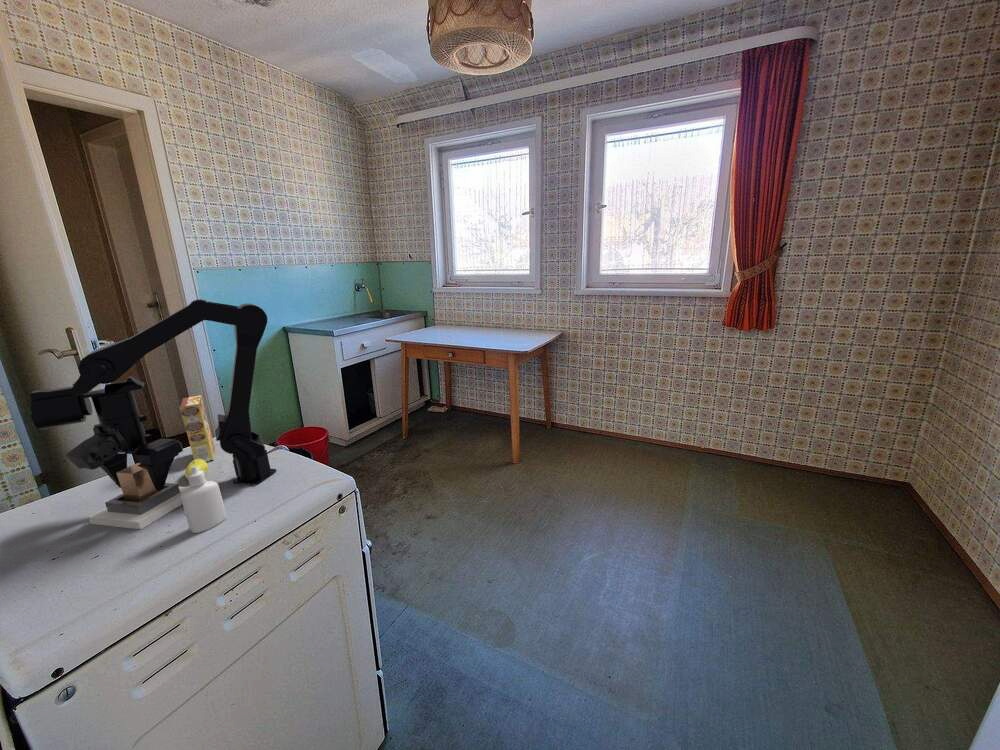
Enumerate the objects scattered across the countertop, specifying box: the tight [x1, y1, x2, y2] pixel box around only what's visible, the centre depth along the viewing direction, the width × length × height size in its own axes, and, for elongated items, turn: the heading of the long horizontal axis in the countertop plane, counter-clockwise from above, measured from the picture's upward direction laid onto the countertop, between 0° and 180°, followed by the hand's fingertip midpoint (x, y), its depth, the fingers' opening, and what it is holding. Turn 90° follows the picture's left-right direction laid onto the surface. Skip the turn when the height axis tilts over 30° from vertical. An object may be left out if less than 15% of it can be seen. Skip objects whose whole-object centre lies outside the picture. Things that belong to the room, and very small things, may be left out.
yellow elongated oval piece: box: [184, 459, 209, 480], centre depth 95 cm, size 4×8×4 cm, turn 22°
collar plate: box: [88, 482, 190, 530], centre depth 82 cm, size 12×12×4 cm
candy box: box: [179, 395, 216, 462], centre depth 103 cm, size 9×4×15 cm, turn 33°
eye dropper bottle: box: [181, 466, 227, 534], centre depth 75 cm, size 4×6×12 cm
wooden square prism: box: [116, 462, 161, 502], centre depth 82 cm, size 4×4×9 cm
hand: (141, 488), depth 82 cm, fingers open, 9 cm apart
